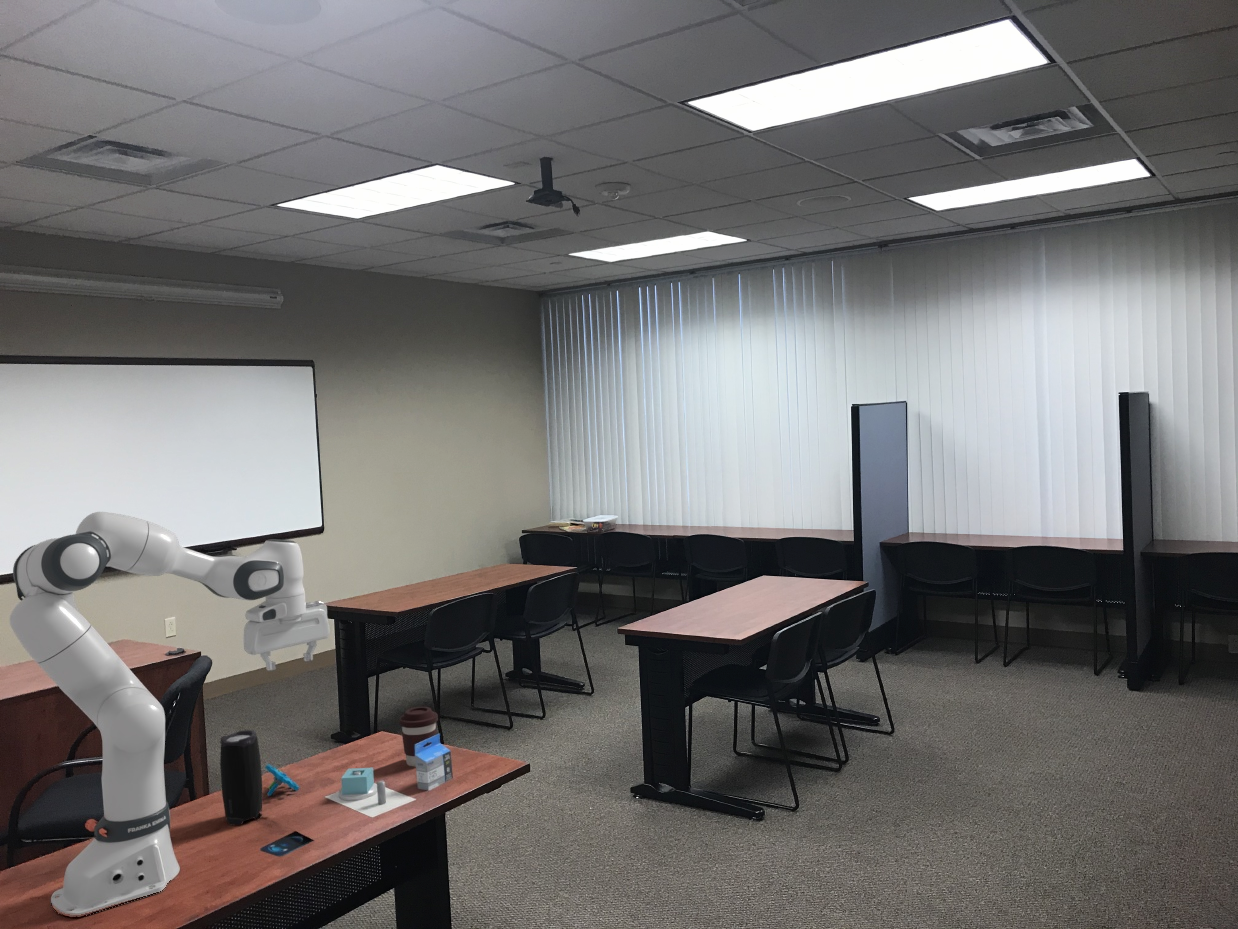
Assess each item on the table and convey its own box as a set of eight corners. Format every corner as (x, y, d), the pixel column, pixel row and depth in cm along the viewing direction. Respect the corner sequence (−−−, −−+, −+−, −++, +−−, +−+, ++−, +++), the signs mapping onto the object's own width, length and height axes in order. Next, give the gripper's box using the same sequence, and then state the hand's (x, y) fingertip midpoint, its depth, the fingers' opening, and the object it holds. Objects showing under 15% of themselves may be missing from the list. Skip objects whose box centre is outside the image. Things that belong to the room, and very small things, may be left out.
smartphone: (257, 849, 195) (315, 821, 208) (257, 851, 195) (315, 823, 208) (280, 856, 191) (337, 827, 203) (280, 859, 191) (338, 830, 204)
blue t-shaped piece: (303, 789, 223) (270, 765, 221) (286, 810, 221) (253, 787, 219) (298, 780, 233) (267, 758, 231) (282, 801, 231) (250, 778, 229)
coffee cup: (429, 757, 246) (426, 702, 246) (447, 766, 239) (444, 709, 238) (395, 767, 240) (392, 710, 239) (412, 777, 232) (409, 719, 232)
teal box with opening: (367, 793, 216) (366, 777, 216) (342, 794, 216) (341, 778, 216) (373, 783, 222) (372, 767, 222) (349, 785, 222) (348, 768, 222)
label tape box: (429, 797, 219) (426, 746, 218) (416, 794, 221) (413, 744, 220) (454, 784, 226) (451, 735, 226) (441, 781, 228) (438, 733, 228)
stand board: (372, 824, 205) (370, 795, 205) (325, 803, 218) (323, 776, 218) (416, 805, 214) (414, 778, 214) (368, 786, 227) (366, 761, 227)
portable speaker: (250, 807, 218) (245, 726, 217) (272, 816, 212) (267, 733, 211) (215, 820, 211) (210, 737, 210) (237, 830, 205) (232, 744, 205)
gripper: (319, 598, 225) (322, 653, 225) (238, 613, 209) (242, 673, 210) (332, 600, 220) (336, 657, 221) (251, 616, 205) (255, 677, 206)
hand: (290, 665), depth 215 cm, fingers open, 8 cm apart
